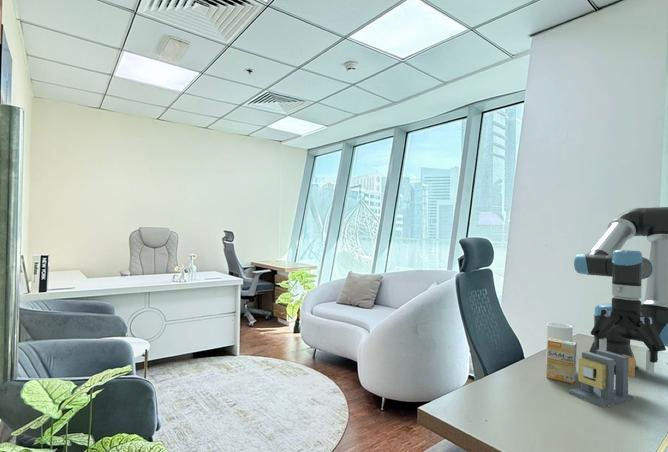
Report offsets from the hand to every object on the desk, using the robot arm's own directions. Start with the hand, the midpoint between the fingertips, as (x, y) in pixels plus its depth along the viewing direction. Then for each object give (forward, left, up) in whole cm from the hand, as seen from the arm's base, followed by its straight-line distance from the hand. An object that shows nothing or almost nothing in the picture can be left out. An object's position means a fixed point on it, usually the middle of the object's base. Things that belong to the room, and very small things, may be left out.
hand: (625, 365), depth 120 cm
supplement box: (+10, -14, -9) cm, 19 cm away
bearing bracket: (+12, 0, -8) cm, 14 cm away
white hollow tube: (0, -22, -9) cm, 24 cm away
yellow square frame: (+16, 0, -1) cm, 16 cm away
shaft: (+8, 0, -3) cm, 9 cm away
